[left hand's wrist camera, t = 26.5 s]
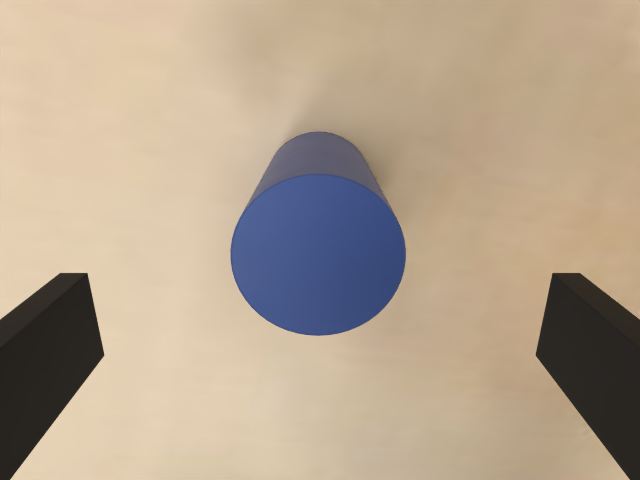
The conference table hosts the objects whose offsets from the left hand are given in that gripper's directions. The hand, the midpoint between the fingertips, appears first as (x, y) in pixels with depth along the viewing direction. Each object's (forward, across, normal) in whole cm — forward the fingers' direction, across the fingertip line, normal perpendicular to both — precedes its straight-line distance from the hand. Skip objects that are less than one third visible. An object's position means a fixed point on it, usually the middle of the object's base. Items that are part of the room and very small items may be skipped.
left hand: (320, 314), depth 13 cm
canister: (+16, 0, 0) cm, 16 cm away
